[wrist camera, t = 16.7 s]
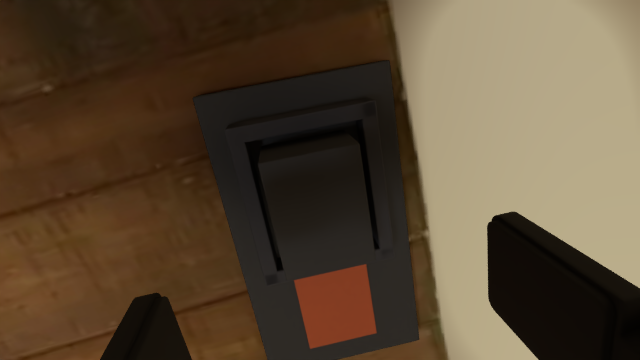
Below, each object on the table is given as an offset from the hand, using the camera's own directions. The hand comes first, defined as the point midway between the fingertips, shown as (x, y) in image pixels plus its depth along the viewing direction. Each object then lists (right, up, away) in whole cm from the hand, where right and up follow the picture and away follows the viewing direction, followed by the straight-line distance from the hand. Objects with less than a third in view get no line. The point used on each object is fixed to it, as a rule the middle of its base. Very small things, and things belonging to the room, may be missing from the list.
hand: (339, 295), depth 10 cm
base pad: (0, 0, +11) cm, 11 cm away
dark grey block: (-1, +3, +10) cm, 10 cm away
